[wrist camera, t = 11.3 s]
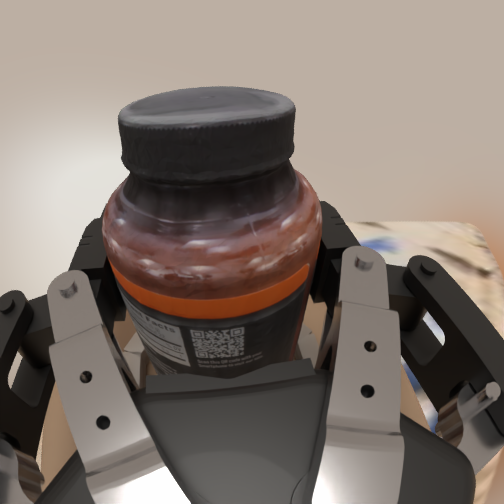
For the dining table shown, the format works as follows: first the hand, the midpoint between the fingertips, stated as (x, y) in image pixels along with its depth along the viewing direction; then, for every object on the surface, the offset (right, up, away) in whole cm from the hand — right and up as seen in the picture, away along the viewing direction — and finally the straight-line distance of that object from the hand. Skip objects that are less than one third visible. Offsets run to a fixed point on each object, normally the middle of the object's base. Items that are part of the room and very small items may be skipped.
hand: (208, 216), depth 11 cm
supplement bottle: (0, -7, +2) cm, 7 cm away
